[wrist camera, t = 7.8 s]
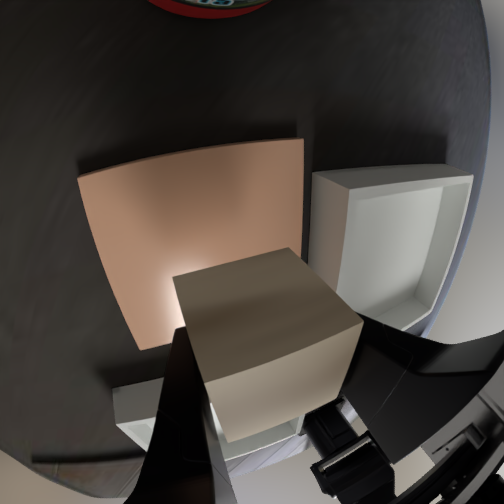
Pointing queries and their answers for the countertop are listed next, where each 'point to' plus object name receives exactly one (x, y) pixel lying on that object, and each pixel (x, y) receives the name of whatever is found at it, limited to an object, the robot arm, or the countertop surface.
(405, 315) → the tray
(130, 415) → the tray
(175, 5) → the beverage can
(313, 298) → the beech cube
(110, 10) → the countertop surface
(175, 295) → the tile
